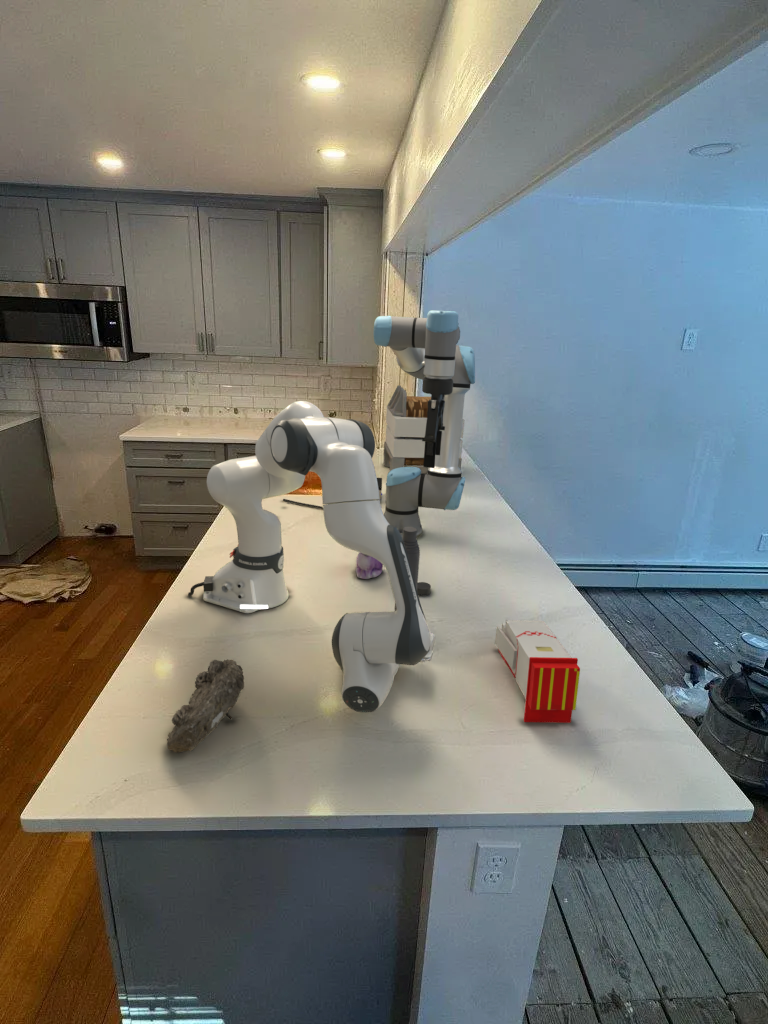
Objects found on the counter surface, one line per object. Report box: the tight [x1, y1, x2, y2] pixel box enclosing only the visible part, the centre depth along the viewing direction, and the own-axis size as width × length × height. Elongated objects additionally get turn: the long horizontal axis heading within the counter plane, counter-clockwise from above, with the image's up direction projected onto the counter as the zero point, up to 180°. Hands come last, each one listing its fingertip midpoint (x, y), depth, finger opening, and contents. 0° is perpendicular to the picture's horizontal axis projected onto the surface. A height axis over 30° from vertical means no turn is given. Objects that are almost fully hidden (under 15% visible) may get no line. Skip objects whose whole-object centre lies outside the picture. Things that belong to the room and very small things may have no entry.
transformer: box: [383, 384, 465, 472], centre depth 268 cm, size 34×33×41 cm
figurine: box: [355, 552, 384, 580], centre depth 167 cm, size 9×10×15 cm
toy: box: [494, 619, 581, 724], centre depth 121 cm, size 12×13×30 cm
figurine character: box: [377, 477, 383, 500], centre depth 234 cm, size 7×8×15 cm
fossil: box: [166, 658, 245, 754], centre depth 106 cm, size 22×10×15 cm
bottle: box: [394, 527, 421, 611], centre depth 140 cm, size 5×5×25 cm
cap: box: [417, 581, 432, 597], centre depth 159 cm, size 4×4×2 cm
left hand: (395, 621), depth 131 cm, fingers open, 8 cm apart
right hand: (432, 460), depth 147 cm, fingers open, 13 cm apart
